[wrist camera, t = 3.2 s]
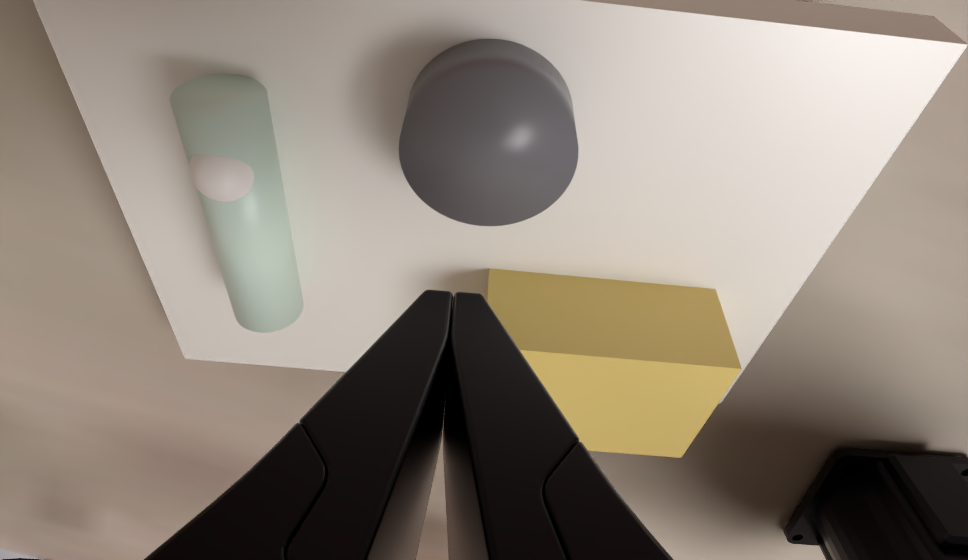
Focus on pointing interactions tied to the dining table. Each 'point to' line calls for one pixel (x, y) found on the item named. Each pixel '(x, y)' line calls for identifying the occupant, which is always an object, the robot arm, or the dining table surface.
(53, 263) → the dining table surface
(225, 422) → the dining table surface
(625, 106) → the instrument board
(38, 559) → the french press
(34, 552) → the dining table surface
